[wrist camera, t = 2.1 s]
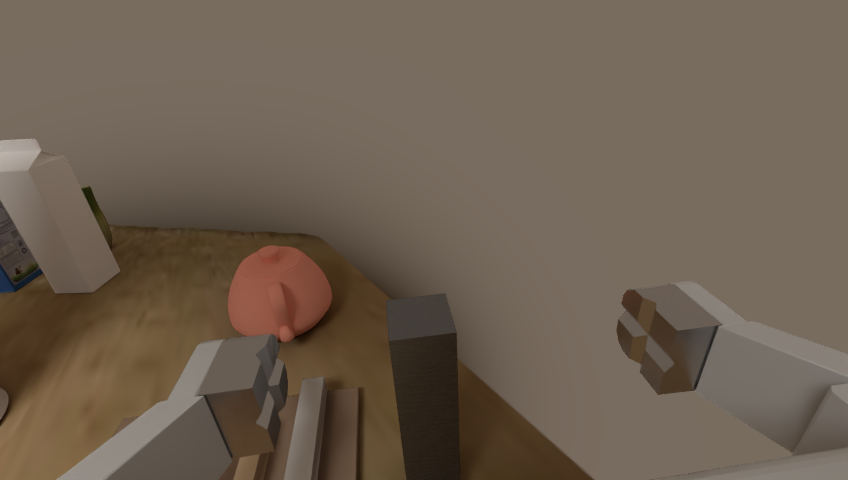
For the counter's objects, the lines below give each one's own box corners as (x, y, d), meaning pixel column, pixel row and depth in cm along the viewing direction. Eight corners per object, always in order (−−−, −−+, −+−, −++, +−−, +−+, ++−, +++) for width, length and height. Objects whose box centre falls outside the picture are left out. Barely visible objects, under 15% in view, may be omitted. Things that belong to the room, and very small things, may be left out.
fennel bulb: (122, 244, 74) (93, 182, 68) (99, 258, 69) (67, 193, 64) (94, 244, 74) (63, 182, 69) (70, 258, 70) (35, 193, 65)
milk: (86, 272, 65) (13, 135, 55) (122, 271, 65) (55, 132, 55) (54, 294, 60) (-33, 147, 50) (93, 293, 60) (14, 144, 49)
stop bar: (409, 500, 31) (388, 340, 24) (405, 452, 35) (386, 300, 27) (460, 492, 31) (456, 332, 24) (451, 445, 35) (445, 293, 27)
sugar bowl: (327, 282, 59) (314, 218, 54) (346, 344, 47) (331, 269, 42) (236, 304, 55) (214, 238, 50) (233, 377, 44) (203, 299, 39)
